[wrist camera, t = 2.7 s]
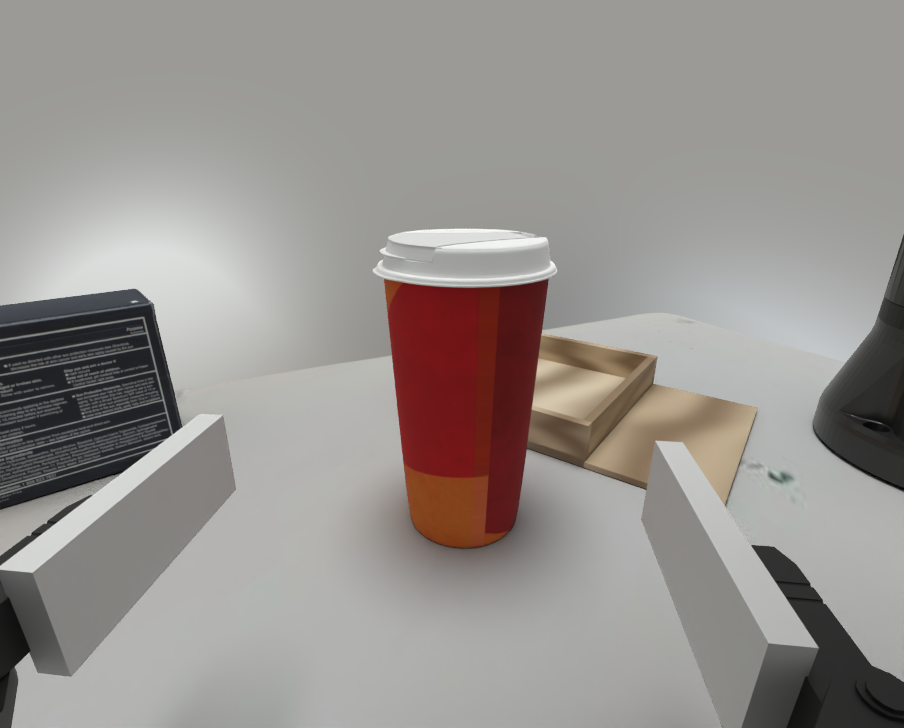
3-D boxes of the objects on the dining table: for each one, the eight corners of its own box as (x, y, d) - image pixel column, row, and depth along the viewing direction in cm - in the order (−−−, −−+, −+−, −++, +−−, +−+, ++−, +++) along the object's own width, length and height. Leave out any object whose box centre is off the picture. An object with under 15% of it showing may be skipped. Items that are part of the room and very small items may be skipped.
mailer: (756, 412, 39) (765, 377, 38) (721, 514, 27) (733, 468, 26) (500, 352, 52) (501, 325, 51) (401, 404, 40) (400, 370, 39)
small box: (170, 418, 38) (139, 284, 34) (191, 452, 33) (158, 301, 30) (-11, 466, 32) (-74, 308, 28) (-17, 516, 27) (-93, 336, 23)
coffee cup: (499, 460, 32) (509, 225, 27) (566, 542, 25) (598, 243, 20) (373, 484, 30) (356, 230, 24) (407, 584, 23) (394, 254, 17)
